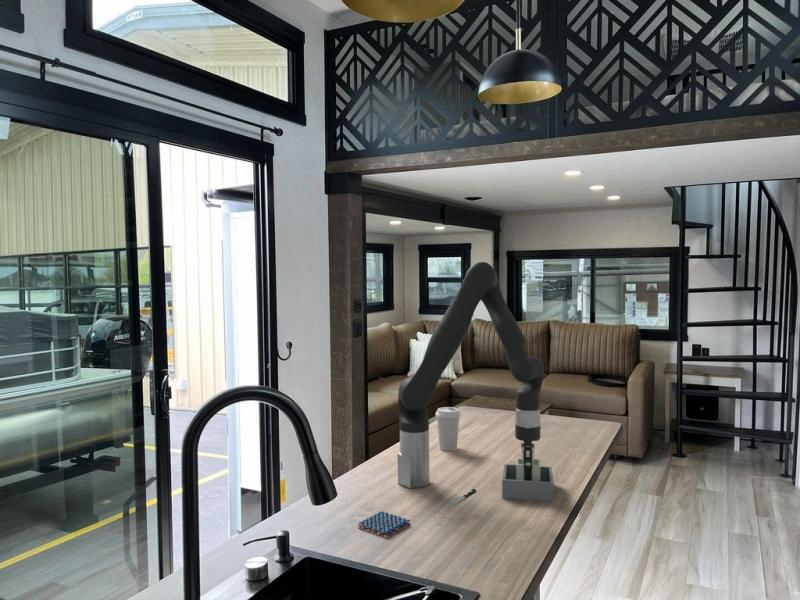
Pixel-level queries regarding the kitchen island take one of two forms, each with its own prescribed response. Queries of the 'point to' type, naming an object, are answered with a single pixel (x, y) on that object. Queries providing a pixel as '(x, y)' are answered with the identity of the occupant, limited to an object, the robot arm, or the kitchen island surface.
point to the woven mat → (384, 524)
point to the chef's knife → (458, 499)
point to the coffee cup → (448, 427)
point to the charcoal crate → (527, 485)
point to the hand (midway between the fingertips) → (527, 477)
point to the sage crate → (534, 471)
